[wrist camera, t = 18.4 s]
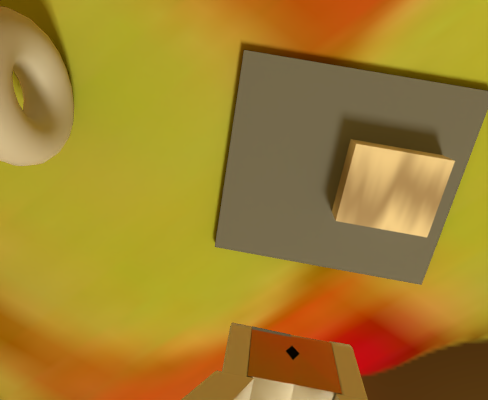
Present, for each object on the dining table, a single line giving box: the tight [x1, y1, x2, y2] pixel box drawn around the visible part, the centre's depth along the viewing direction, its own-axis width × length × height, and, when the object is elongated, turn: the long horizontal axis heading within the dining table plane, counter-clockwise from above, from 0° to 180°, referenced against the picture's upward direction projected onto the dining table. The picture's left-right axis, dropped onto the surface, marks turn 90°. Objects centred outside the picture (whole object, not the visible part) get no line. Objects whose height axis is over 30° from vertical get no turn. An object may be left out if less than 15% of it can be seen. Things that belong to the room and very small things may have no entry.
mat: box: [215, 50, 488, 285], centre depth 28 cm, size 16×18×1 cm
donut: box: [0, 6, 74, 166], centre depth 24 cm, size 10×4×10 cm, turn 3°
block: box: [332, 139, 455, 237], centre depth 27 cm, size 6×2×7 cm
